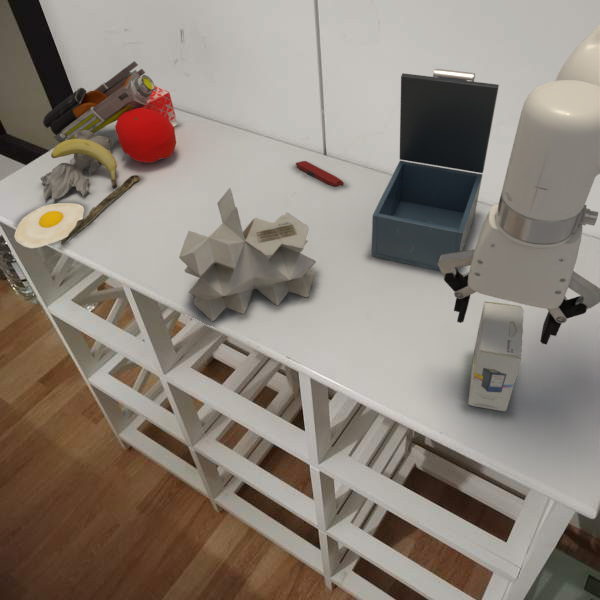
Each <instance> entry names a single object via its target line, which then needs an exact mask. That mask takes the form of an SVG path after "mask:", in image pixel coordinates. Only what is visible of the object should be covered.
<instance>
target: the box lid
mask: <svg viewBox="0 0 600 600" xmlns="http://www.w3.org/2000/svg"><path fill="white" fill-rule="evenodd" d="M400 75H401V76H400V108H399V109H400V110H399V111H400V113H399V115H400V116H399V119H400V120H399V161H405V162H411V163H417V164H423V165H429V166H435V167H441V168H447V169H453V170H459V171H465V172H471V173H477V174H483V173H484V171H485V165H486V161H487V160H486V159H487V154H488V148H489V142H490V137H491V132H492V127H493V119H494V114H495V109H496V103H497V97H498V93H499V87H500V84H496V83H490V82H489V83H488V82H479V81H475V79H476V73H475V72H468V71H467V72H466V71H460V70H459V71H458V70H452V69H451V70H449V69H440V68H435V69H434V70H433V74H432V76H428V75H420V74H412V73H404V72H403V73H402V74H400Z"/></svg>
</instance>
